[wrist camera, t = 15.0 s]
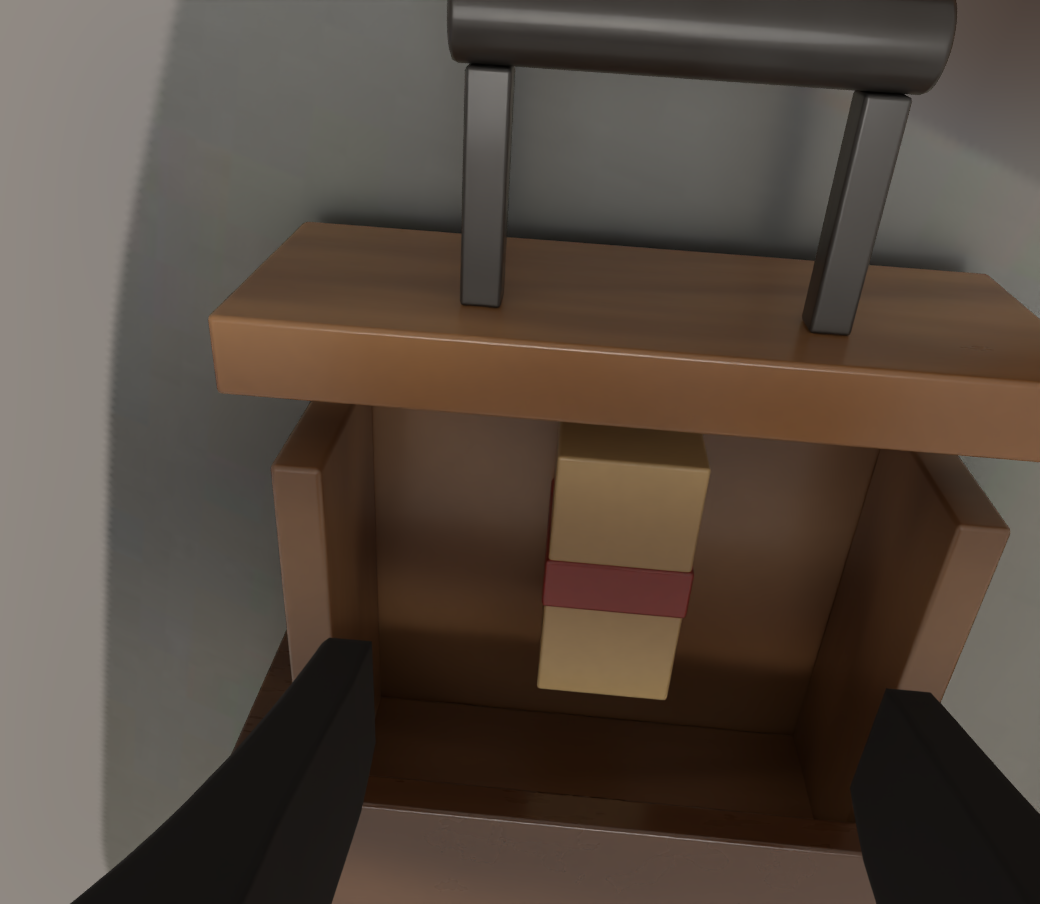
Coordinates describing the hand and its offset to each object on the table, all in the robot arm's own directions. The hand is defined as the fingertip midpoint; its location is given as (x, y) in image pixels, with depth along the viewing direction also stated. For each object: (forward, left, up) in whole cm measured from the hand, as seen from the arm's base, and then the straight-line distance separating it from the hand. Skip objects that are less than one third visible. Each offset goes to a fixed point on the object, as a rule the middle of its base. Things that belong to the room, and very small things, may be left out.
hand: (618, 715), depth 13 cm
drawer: (+1, +1, -7) cm, 7 cm away
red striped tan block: (0, 0, -5) cm, 5 cm away
